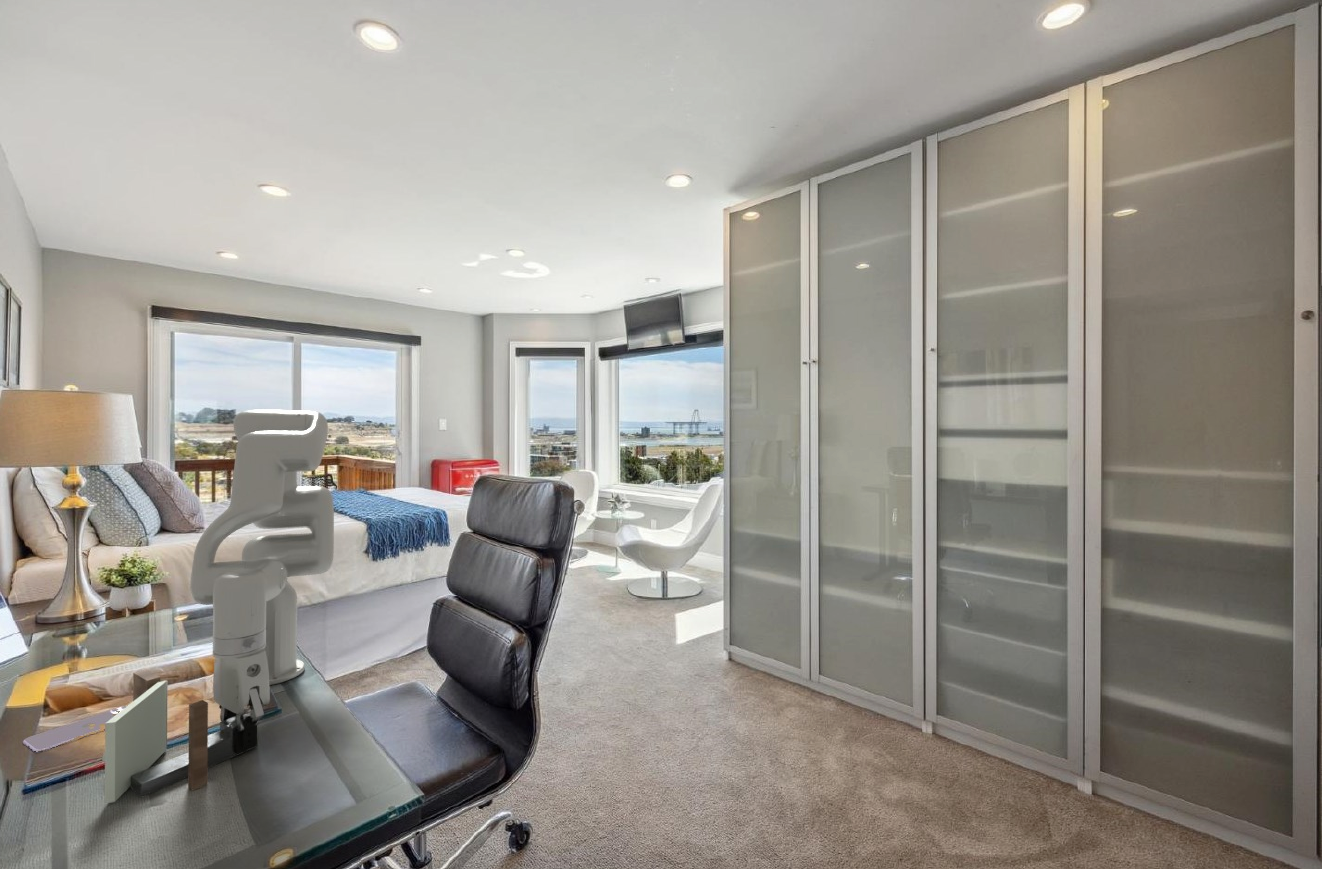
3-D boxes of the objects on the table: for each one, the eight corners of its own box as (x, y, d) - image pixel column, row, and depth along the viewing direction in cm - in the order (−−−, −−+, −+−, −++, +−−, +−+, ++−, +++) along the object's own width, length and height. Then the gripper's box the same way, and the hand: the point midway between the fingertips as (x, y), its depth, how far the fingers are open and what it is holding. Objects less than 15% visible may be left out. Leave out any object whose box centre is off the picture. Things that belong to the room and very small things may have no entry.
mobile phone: (20, 737, 102) (129, 702, 115) (20, 743, 102) (129, 707, 115) (36, 750, 98) (147, 712, 112) (36, 755, 98) (147, 717, 112)
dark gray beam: (246, 739, 104) (245, 711, 103) (257, 745, 102) (257, 718, 101) (130, 788, 90) (130, 756, 90) (141, 797, 88) (141, 764, 88)
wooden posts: (132, 746, 101) (133, 672, 101) (145, 741, 103) (146, 669, 102) (193, 790, 90) (194, 707, 89) (207, 784, 91) (207, 702, 91)
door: (153, 748, 100) (154, 680, 100) (168, 747, 100) (169, 678, 100) (96, 804, 85) (97, 723, 85) (114, 801, 86) (115, 722, 86)
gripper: (288, 645, 100) (287, 749, 100) (240, 626, 108) (239, 722, 108) (239, 660, 93) (238, 771, 93) (191, 638, 101) (191, 741, 102)
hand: (238, 744), depth 101 cm, fingers closed on dark gray beam, 4 cm apart
